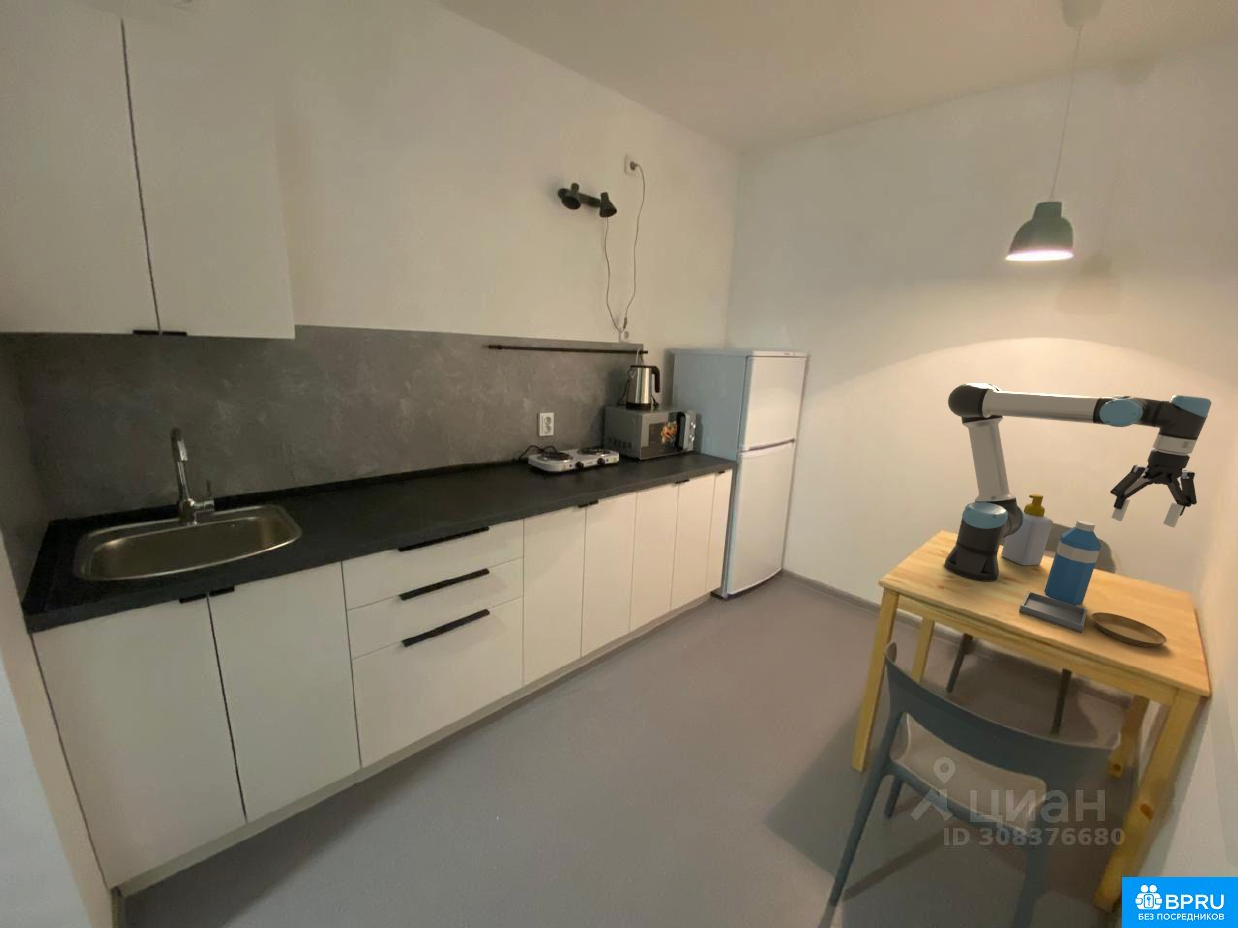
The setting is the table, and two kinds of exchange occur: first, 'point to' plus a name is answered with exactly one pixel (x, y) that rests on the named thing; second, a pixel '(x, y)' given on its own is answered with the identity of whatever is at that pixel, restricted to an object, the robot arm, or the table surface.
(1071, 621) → the tray
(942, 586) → the table surface
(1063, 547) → the water bottle
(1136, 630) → the plant saucer
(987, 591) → the table surface
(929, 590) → the table surface
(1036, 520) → the soap bottle
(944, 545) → the table surface
